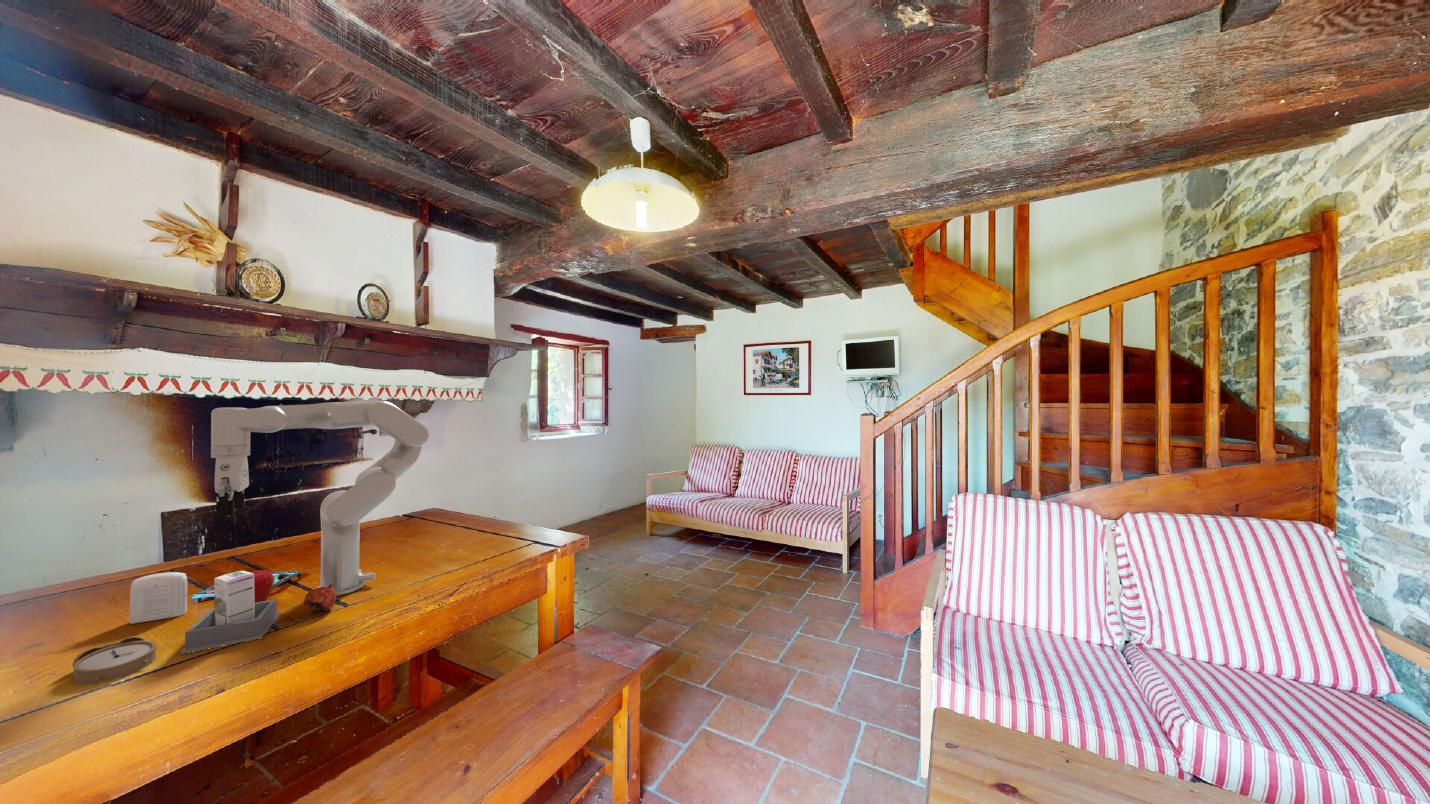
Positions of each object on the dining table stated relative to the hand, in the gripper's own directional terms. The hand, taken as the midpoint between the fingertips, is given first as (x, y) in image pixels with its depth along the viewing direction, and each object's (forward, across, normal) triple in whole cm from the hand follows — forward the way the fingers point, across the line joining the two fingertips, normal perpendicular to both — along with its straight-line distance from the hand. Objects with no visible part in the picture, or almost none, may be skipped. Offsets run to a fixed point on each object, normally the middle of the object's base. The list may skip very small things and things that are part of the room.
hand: (230, 511), depth 126 cm
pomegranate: (+30, -11, -20) cm, 38 cm away
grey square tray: (+29, -15, -4) cm, 33 cm away
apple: (+30, +3, -3) cm, 30 cm away
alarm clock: (+30, -20, +14) cm, 39 cm away
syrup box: (+28, -15, -4) cm, 33 cm away
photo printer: (+30, +8, +15) cm, 34 cm away
